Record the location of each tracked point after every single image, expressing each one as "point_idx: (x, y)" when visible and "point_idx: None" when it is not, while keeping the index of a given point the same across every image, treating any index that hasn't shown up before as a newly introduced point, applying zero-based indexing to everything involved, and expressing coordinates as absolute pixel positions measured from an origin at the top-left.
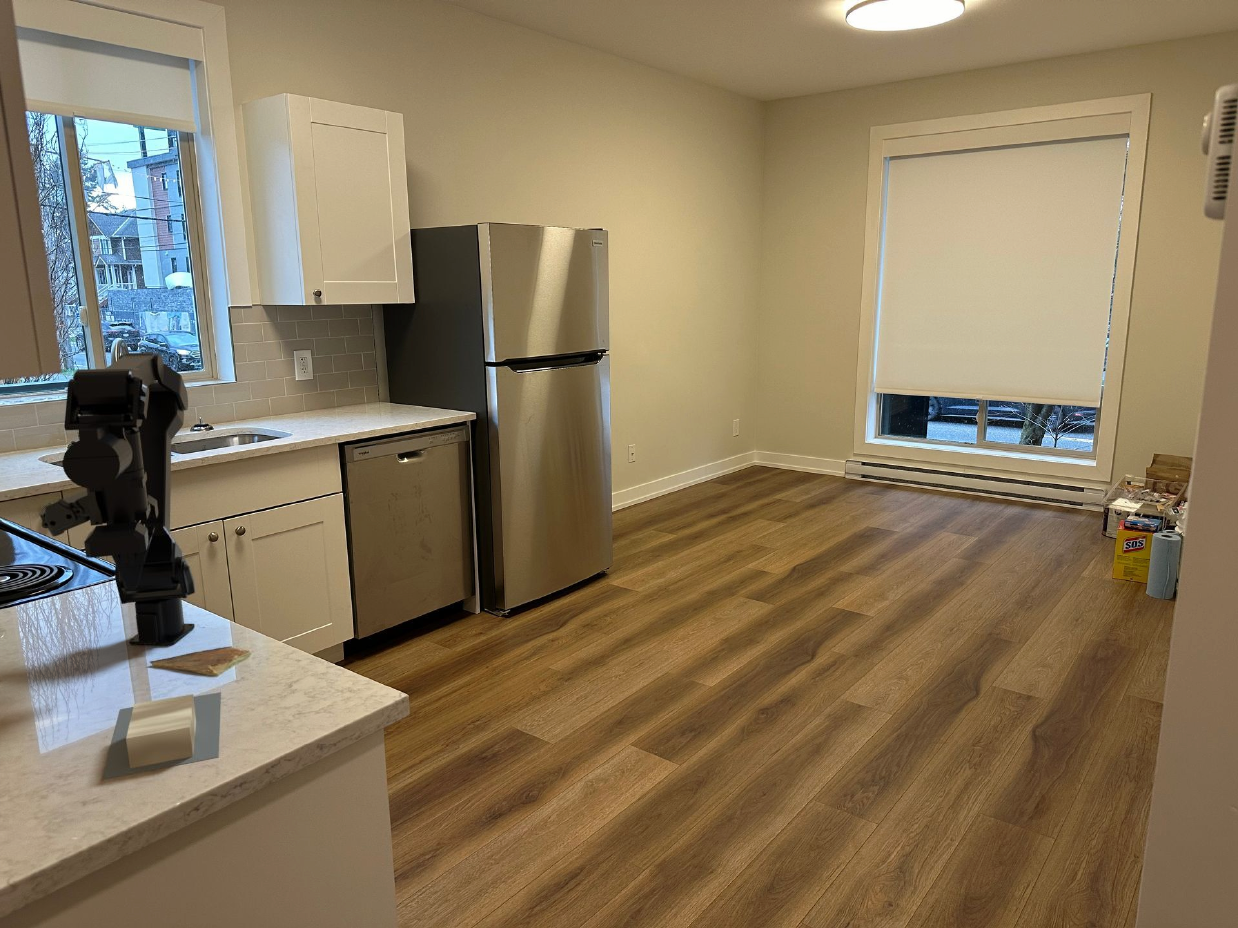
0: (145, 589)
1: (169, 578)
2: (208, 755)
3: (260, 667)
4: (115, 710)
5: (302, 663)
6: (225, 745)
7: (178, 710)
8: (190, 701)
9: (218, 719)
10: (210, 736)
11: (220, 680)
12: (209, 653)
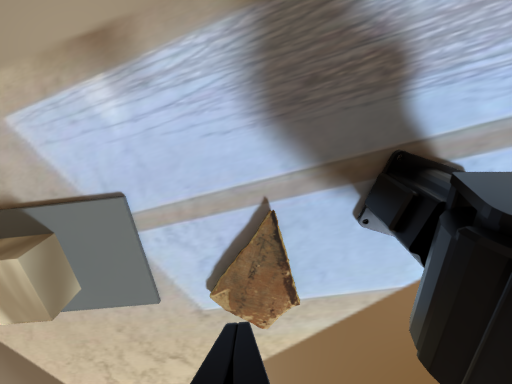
0: (426, 262)
1: (415, 342)
2: None
3: None
4: (131, 187)
5: None
6: None
7: (2, 311)
8: (30, 320)
9: (85, 308)
10: None
11: (204, 294)
12: (273, 286)
